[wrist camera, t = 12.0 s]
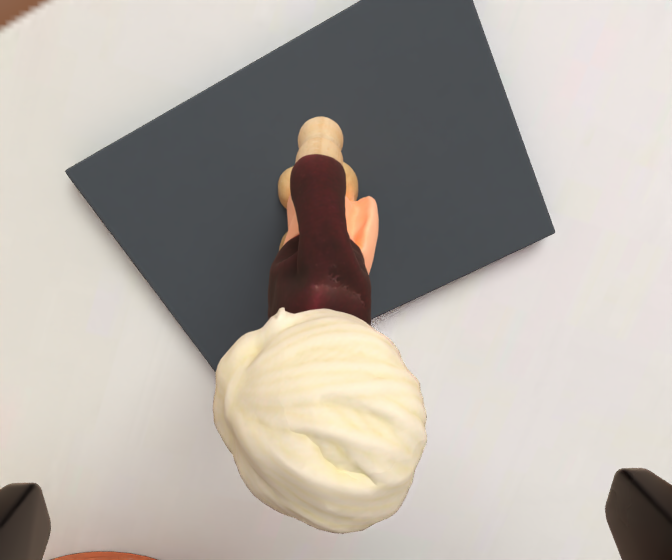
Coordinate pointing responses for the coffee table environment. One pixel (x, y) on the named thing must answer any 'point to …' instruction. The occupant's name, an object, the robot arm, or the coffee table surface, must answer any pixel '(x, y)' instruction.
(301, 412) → the grandmother figurine
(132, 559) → the desk pot
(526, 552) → the coffee table surface
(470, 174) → the felt mat
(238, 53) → the coffee table surface
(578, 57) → the coffee table surface
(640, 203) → the coffee table surface
